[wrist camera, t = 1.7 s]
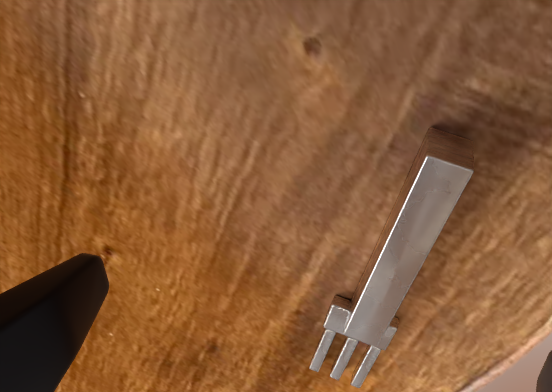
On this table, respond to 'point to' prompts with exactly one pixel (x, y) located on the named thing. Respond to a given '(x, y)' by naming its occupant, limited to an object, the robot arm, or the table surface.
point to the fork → (398, 253)
